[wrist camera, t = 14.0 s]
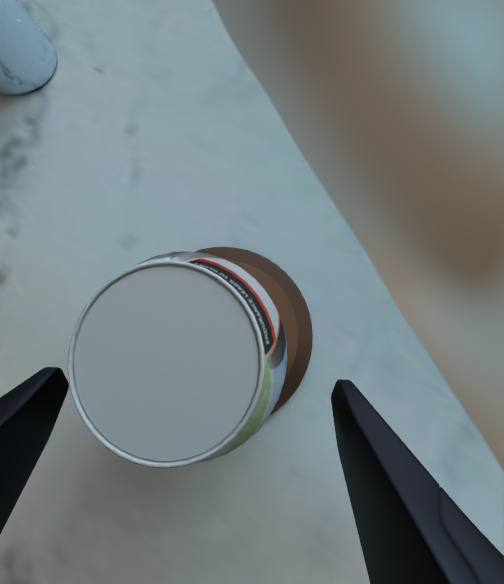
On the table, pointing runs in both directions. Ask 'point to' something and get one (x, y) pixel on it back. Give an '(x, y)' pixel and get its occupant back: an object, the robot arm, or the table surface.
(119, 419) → the beverage can
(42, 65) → the beer glass
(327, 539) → the table surface
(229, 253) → the coaster
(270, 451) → the table surface
